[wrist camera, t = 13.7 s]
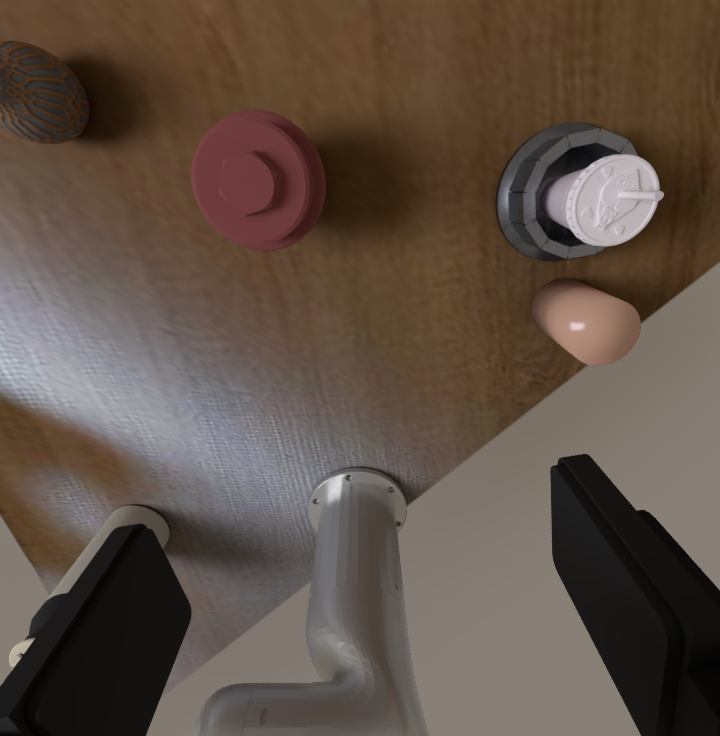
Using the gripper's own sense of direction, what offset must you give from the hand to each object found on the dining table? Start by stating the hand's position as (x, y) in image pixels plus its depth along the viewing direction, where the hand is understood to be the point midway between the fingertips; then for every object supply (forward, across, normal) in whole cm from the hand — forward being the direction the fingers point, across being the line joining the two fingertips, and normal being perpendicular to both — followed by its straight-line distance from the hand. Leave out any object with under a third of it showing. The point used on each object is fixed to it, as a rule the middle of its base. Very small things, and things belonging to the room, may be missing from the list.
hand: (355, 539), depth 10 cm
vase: (+36, +23, -19) cm, 47 cm away
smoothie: (+36, -20, -3) cm, 41 cm away
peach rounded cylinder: (+36, -20, +8) cm, 42 cm away
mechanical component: (+36, +6, -9) cm, 38 cm away
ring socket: (+36, -20, -3) cm, 42 cm away
